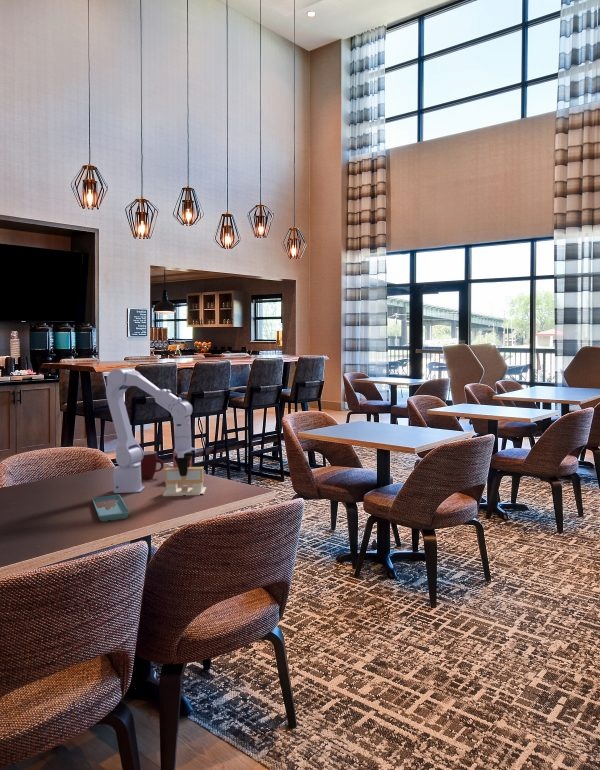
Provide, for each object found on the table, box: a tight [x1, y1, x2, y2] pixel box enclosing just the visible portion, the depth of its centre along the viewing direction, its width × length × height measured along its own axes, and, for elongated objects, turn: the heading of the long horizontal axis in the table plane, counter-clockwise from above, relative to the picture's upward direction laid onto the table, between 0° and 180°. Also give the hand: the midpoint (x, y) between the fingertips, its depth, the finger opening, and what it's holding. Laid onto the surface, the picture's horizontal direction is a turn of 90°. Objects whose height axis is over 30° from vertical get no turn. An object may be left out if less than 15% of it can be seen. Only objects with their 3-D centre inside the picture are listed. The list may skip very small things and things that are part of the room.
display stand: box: [162, 482, 207, 497], centre depth 220 cm, size 14×9×4 cm, turn 92°
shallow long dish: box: [91, 494, 130, 522], centre depth 200 cm, size 26×9×2 cm, turn 23°
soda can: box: [172, 449, 193, 468], centre depth 244 cm, size 7×7×12 cm
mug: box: [141, 450, 164, 480], centre depth 245 cm, size 11×8×10 cm
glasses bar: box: [164, 466, 205, 485], centre depth 220 cm, size 13×3×5 cm, turn 92°
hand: (184, 474), depth 220 cm, fingers open, 4 cm apart
